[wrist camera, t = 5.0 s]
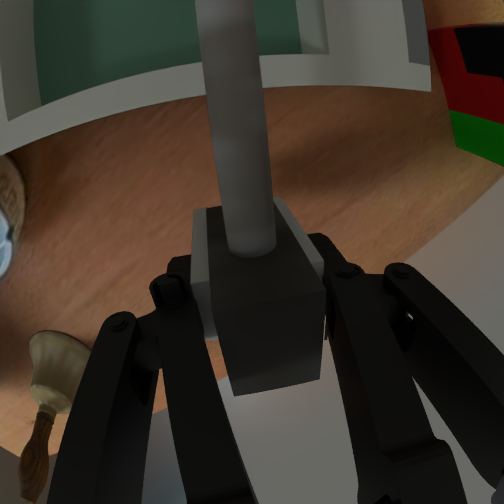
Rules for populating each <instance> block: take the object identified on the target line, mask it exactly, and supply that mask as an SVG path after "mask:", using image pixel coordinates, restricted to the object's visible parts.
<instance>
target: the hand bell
mask: <svg viewBox="0 0 504 504" xmlns="http://www.w3.org/2000/svg"><path fill="white" fill-rule="evenodd" d="M29 352H30V356H31V359H32V361H33V364H34V373H33V379H32V383H31V388H30V392H31V395H32V397H33V399H34V400H35V401H36V402H37V403H38V404H39V410H38V413H37V416H36V420H35V425H34V429H33V433H32V436H31V438H30V440H29V442H28V443H27V445H26V446H25V448H24V449H23V452H22V454H21V457H20V460H19V464H18V483H19V488H20V499H21V500H23V501H25V502H27V503H29V504H36V501H37V499H38V497H39V495H40V494H41V492H42V491H43V489H44V487H45V484H46V481H47V476H48V469H49V456H48V440H49V437H50V433H51V430H52V425H53V424H54V420H55V417H56V414H68V413H70V411H71V407H72V404H73V401H74V398H75V395H76V392H77V389H78V387H79V384H80V381H81V378H82V375H83V373H84V370H85V367H86V364H87V362H88V359H89V356H90V354H91V351H90V350H89V349H88V348H87V347H86V346H84V345H83V344H82V343H80V342H79V341H77V340H75V339H74V338H72V337H70V336H67V335H65V334H62V333H59V332H54V331H42V332H38V333H36V334H34V335H33V336H32V337H31V339H30V342H29Z"/></svg>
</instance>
